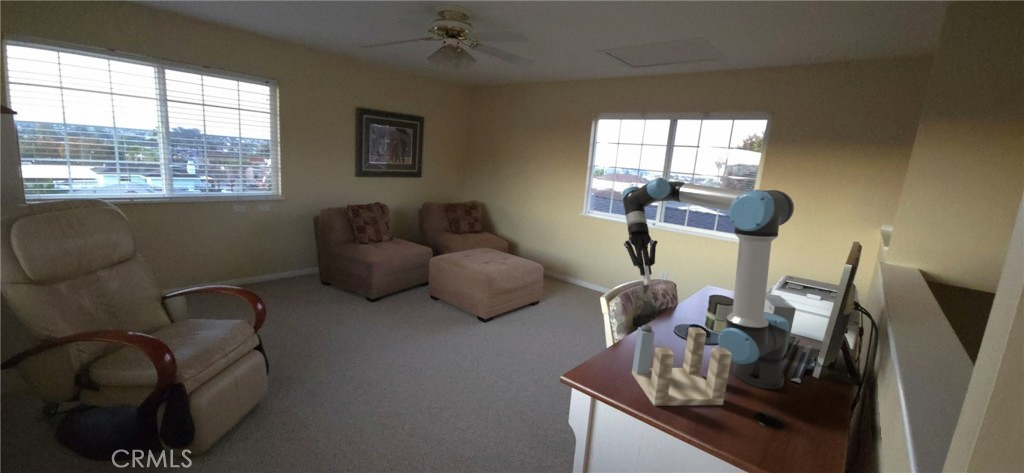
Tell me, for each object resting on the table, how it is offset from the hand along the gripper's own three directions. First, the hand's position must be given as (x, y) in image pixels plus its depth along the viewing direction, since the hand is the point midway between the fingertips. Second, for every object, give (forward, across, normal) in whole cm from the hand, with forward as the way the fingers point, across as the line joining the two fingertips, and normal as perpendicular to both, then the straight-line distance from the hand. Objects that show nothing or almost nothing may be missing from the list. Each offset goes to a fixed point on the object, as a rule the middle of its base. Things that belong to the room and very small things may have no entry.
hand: (647, 283), depth 155 cm
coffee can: (+13, -42, -31) cm, 54 cm away
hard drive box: (+23, -54, -18) cm, 61 cm away
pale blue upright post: (+30, +8, +1) cm, 31 cm away
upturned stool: (+36, 0, +5) cm, 37 cm away
